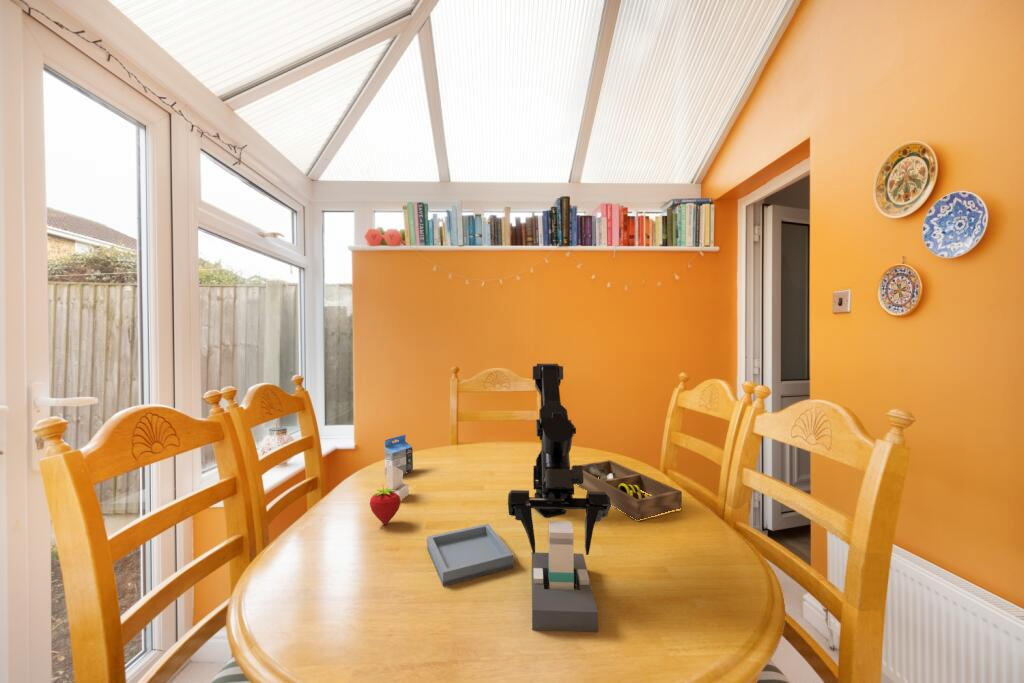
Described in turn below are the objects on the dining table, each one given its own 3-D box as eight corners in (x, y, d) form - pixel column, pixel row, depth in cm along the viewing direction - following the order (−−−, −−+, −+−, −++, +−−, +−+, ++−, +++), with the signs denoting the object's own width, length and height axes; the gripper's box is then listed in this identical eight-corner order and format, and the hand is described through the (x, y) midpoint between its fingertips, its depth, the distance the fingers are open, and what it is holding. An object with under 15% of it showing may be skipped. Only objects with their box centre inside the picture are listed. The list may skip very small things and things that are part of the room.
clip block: (531, 567, 74) (531, 548, 74) (583, 569, 74) (583, 549, 74) (532, 629, 58) (532, 604, 58) (598, 631, 58) (597, 606, 58)
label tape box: (392, 479, 122) (392, 441, 122) (384, 476, 125) (384, 439, 125) (413, 471, 130) (413, 435, 130) (405, 469, 132) (405, 434, 132)
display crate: (610, 475, 126) (609, 460, 126) (681, 510, 99) (681, 491, 99) (571, 482, 119) (571, 466, 119) (637, 521, 93) (637, 501, 93)
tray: (488, 534, 87) (488, 523, 87) (513, 567, 74) (513, 554, 74) (427, 548, 81) (427, 536, 81) (443, 586, 68) (443, 572, 68)
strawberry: (393, 531, 88) (393, 488, 88) (364, 528, 90) (364, 486, 90) (405, 519, 94) (405, 479, 94) (377, 517, 96) (377, 477, 96)
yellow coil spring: (650, 513, 98) (650, 493, 98) (630, 513, 98) (630, 494, 98) (635, 497, 108) (635, 480, 108) (617, 498, 107) (617, 480, 107)
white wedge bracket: (378, 498, 101) (386, 465, 105) (394, 504, 109) (401, 472, 114) (390, 500, 100) (398, 466, 105) (406, 505, 109) (413, 473, 113)
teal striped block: (548, 588, 68) (548, 521, 68) (571, 588, 68) (571, 521, 68) (549, 603, 64) (549, 532, 64) (573, 604, 64) (573, 533, 64)
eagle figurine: (613, 478, 120) (584, 471, 121) (617, 463, 116) (588, 456, 117) (611, 499, 114) (581, 491, 115) (616, 484, 109) (585, 476, 111)
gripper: (508, 447, 71) (504, 536, 60) (608, 448, 70) (623, 538, 59) (510, 475, 79) (507, 557, 68) (600, 476, 78) (612, 560, 67)
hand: (560, 553), depth 65 cm, fingers open, 9 cm apart
